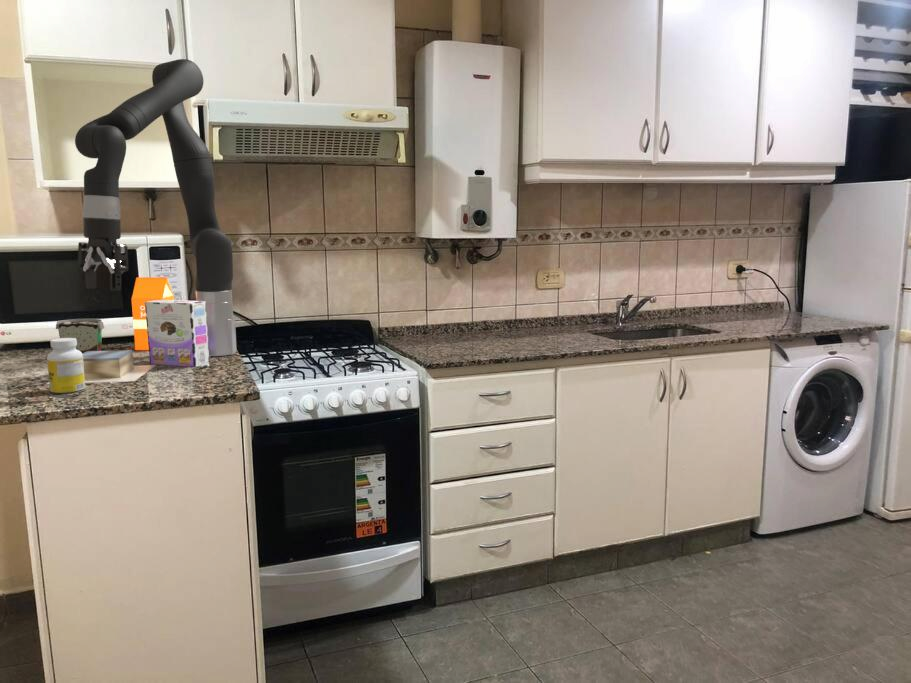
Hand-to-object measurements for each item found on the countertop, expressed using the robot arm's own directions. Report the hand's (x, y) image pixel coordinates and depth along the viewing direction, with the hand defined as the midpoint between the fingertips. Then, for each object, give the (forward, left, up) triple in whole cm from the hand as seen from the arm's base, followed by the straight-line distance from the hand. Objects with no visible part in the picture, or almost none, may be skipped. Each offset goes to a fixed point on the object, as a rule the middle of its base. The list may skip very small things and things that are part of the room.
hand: (103, 289), depth 162 cm
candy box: (-13, -9, -20) cm, 26 cm away
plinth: (+1, +2, -19) cm, 19 cm away
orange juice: (0, -39, -20) cm, 44 cm away
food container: (+14, -26, -20) cm, 35 cm away
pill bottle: (+3, +18, -20) cm, 28 cm away
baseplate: (+1, +2, -20) cm, 20 cm away
